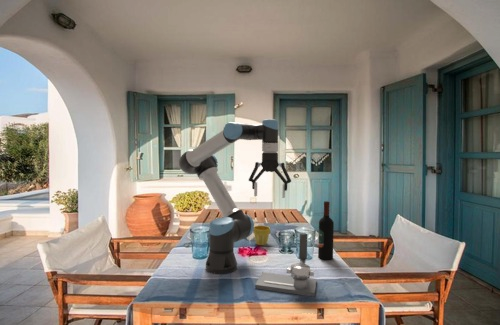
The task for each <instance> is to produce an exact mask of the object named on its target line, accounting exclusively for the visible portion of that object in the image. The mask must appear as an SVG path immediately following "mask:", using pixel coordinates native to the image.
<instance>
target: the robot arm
mask: <svg viewBox="0 0 500 325" xmlns="http://www.w3.org/2000/svg"><path fill="white" fill-rule="evenodd" d="M239 140H245V141H256V140H259V141H261V142H262V144H261V149H262V150H261V151H262V153H261V162H259V161H257V162H254V163H255V164H254V168H253V170H252V172H251V173H250V176H249V178H248V182H251V183H252V190H253V196H254V197H258V182H257V180H258V179H259V178H260V177H261V176H262V175H263V174H264V173H268V172H269V173H273V172H274V173H275V174H276V175H277V176H278V178H279V179H280V180H281V181H282V182H283V183H282V193H281V194H282V199H284V198H285V197H286V192H287V191H288V184H291V182H292V179H291V177H290V175H289V173H288V170H287V169H286V166H285V165H286V164H285V162H279V159H278V158H279V153H278V152H279V121H278V120H277V119H274V118H273V119H272V118H265V119H262V122H261V123H260V124H259V123H258V124H257V123H256V124H255V123H254V124H252V123H245V122H244V123H243V122H236V121H233V122H232V121H229V122H227V123H226V124H225V125H224V126H223V130H221V131H219V132H218V133H216V134H215V135H213V136H212V137H210V138H209V139H207V140H206V141H204V142H202V143H201V144H200V145H198V146H196V147H194V148H193V149H188V150H187V151H185V152H184V153H183V154H181V156H180V157H179V160H178V165H179V168H180V169H181V171H182V172H183V173H185V174H188V175H195V174H196V176H197V178H198V179H199V180H200V181H203V182H204V184H205V186H206V188H207V190H208V192H209V193H210V195H211V197H212V199H213V201H214V202H215V204H216V206H217V207H218V208H217V209H218V210H219V211H220V213H221V214H222V217H217V218H214V219H212V221H210V223H209V229H208V233H209V234H208V235H209V238H208V240H209V243H208V245H209V246H208V248H209V253H208V256H207V258H206V262H205V270H206V271H207V272H209V273H211V274H215V275H216V274H217V275H224V274H225V275H226V274H229V273H232V272H235V271H236V270H238V262H237V261H238V260H237V259H236V258H237V257H236V255H235V251H234V250H235V249H234V245H235V243H236V242H240V241H242V240H245V239H247V238H249V237H250V236H251V235H252V234H254V233H253V230H254V227H255V222H254V220H253V218H252V217H251V216H250V215H248V214H245V212H244V211H243V209H240V208H238V207H237V205H236V203H235V201H234V200H233V198H232V196H231V194H230V193H229V192H228V189H227V187H226V186H225V184H224V183H223V181H222V179H221V177H220V176H219V174H218V170H219V169H218V164H219V162H218V159H217V157H216V155H215V154H217V153H218V152H220V151H222V150H223V149H225V148H227V147H228V146H230V145H231V144H234V143H235V142H237V141H239ZM260 167H262V169H260V171H259V173H257V172H258V169H259V168H260ZM278 167H280V168H281V170H282V172H283V174H284V175H283V174H282V173H281V172H280V170H279V169H278ZM256 173H257V174H256Z"/></svg>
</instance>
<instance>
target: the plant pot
mask: <svg viewBox="0 0 500 325" xmlns="http://www.w3.org/2000/svg"><path fill="white" fill-rule="evenodd" d="M252 234H253V235H254V239H255V244H256V245H258V246H266V245H267V244H268V240H269V236H270V234H271V227H270V226H268V225H254V230H253V233H252Z"/></svg>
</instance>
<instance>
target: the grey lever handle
mask: <svg viewBox="0 0 500 325" xmlns="http://www.w3.org/2000/svg"><path fill="white" fill-rule="evenodd" d="M298 250H299V252H298V254H299V256H298V259H299V262H298V263H297V262H296V263H292V264H291V265H290V267H287V268H286V274H288V275H290V276H291V277H292V278H293V279H295V280H300V281H304V280H308V279H309V278H311V277H314V276H315V270H314V269H311V266H309V265H308V264H306V262H307V259H308V234H307V233H306V232H300V233H299V248H298Z"/></svg>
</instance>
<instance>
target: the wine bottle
mask: <svg viewBox="0 0 500 325" xmlns="http://www.w3.org/2000/svg"><path fill="white" fill-rule="evenodd" d="M334 227H335V226H334V220H333V218H331V217H330V201H324V202H323V216H322V217H321V218H320V219H319V222H318V241H317V242H318V246H317V247H318V248H317V249H318V250H317V256H318V259H319V260H321V261H324V262H325V261H326V262H327V261H328V262H329V261H333V259H334V231H335V230H334Z"/></svg>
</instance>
